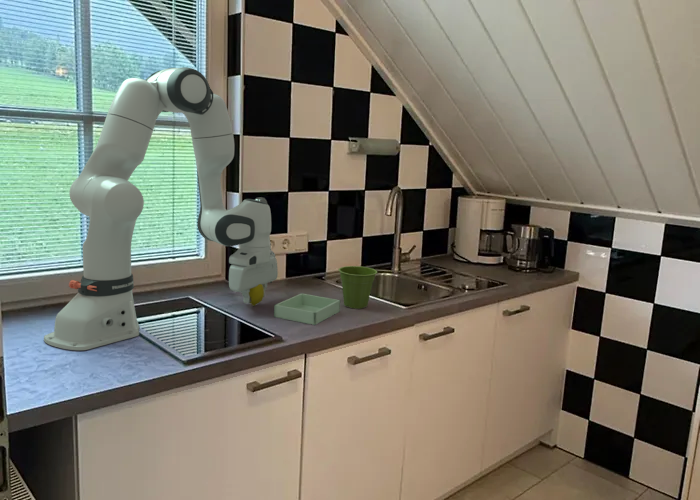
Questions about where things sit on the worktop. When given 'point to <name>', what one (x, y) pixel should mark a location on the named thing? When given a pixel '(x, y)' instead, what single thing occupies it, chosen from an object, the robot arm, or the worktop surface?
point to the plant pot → (356, 285)
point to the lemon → (256, 294)
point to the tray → (307, 308)
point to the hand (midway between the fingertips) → (254, 300)
